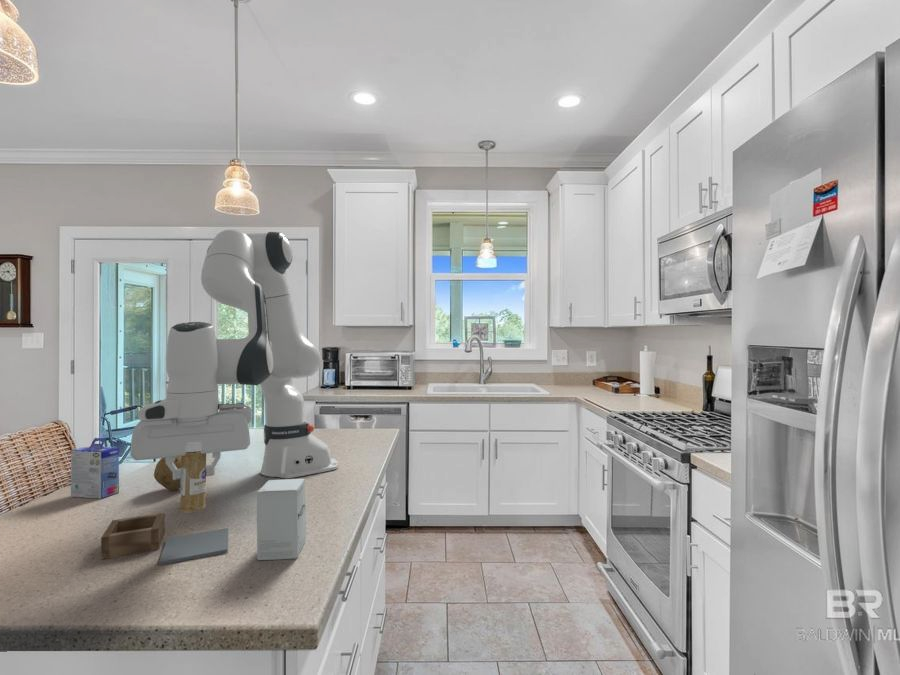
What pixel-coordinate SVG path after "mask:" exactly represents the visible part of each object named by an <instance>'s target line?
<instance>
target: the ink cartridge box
mask: <svg viewBox="0 0 900 675" xmlns="http://www.w3.org/2000/svg"><path fill="white" fill-rule="evenodd" d="M96 442H101V443H96ZM105 442H106V437H105V438H104V437H103V438H102V437H94V439H93V440H92V442H91V444H90V445H89V446H84V447H79V448H75V449H71V450H70V497H71V498H85V499H87V498H88V499H103V498H104V499H105V498H106V497H110V496H113V495H116V493H117V494H119V492H120V469H119V468H120V465H119V464H120V463H119V462H120V458H119V457H120V454H119V452H120V451H119V450H120V447H118V446H104V444H105Z"/></svg>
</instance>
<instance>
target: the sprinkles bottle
mask: <svg viewBox="0 0 900 675" xmlns="http://www.w3.org/2000/svg"><path fill="white" fill-rule="evenodd" d="M200 451H202V442H187V443H185V452H187V453H185V454H186V455H185V456H181V457H182V458H181V482H180V489H179V491H180V505H179V506H180V507H179V511H180V513H181V512H182V513H189V514H192V513H195V512H200V511H202V510H204V509H206V507H207V505H206V491H207V476H206V465H207V453H205V454H201V452H200Z"/></svg>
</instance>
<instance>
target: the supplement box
mask: <svg viewBox="0 0 900 675" xmlns="http://www.w3.org/2000/svg"><path fill="white" fill-rule="evenodd" d="M306 520H307V519H306V478H282V479H269V480H267V481H266V482H265V483H264V484H263V485H262V486H261V487H260V489H258V490H257V491H256V542H257V543H256V545H257V546H256V548H257V550H256V551H257V552H256V558H257V561H273V560H274V561H275V560H292V559H293V560H294V559H298V557H299V555H300V552H301V550H302V549H303V546H304V545H305V543H306V542H307V541H306V540H307V539H306V538H307V535H306V534H307V533H306V532H307V531H306V530H307V529H306V528H307V527H306V522H307V521H306Z"/></svg>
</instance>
